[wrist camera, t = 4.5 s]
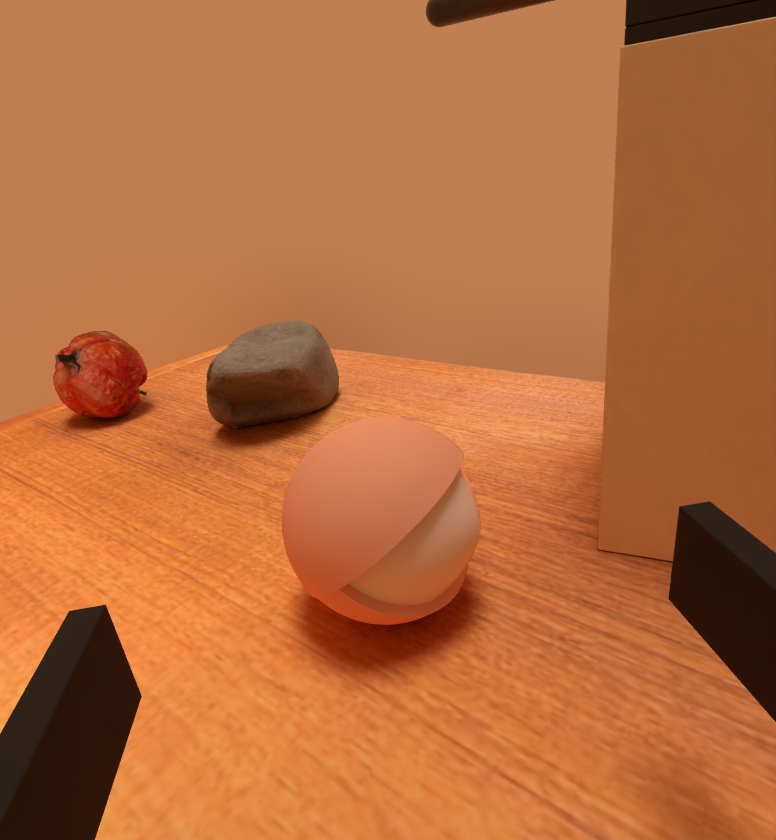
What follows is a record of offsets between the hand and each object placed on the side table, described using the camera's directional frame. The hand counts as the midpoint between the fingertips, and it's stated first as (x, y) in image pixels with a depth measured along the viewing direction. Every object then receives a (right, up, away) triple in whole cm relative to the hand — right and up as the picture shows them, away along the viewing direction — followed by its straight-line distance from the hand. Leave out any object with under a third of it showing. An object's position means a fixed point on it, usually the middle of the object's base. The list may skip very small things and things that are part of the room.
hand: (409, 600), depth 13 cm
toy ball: (0, -3, +11) cm, 11 cm away
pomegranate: (-24, +5, +36) cm, 44 cm away
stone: (-9, +4, +31) cm, 32 cm away
